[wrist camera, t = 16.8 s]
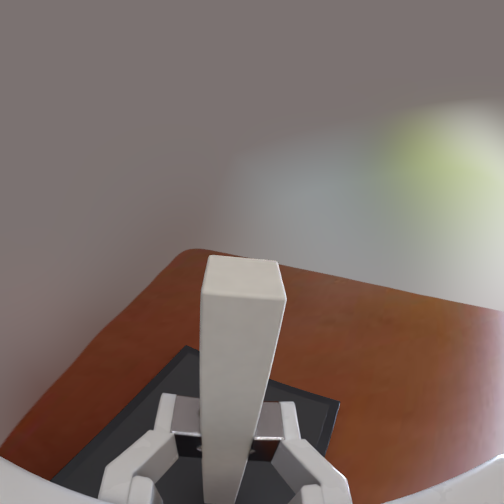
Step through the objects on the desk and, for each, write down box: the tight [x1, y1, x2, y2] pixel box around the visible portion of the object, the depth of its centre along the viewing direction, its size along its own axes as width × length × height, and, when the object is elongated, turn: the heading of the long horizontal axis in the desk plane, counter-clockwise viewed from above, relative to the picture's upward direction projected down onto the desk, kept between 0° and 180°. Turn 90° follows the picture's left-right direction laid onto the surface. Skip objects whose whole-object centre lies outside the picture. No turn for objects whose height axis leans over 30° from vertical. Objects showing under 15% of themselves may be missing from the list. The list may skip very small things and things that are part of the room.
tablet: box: [50, 345, 340, 504], centre depth 14 cm, size 20×14×1 cm
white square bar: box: [200, 255, 287, 504], centre depth 9 cm, size 2×2×15 cm
